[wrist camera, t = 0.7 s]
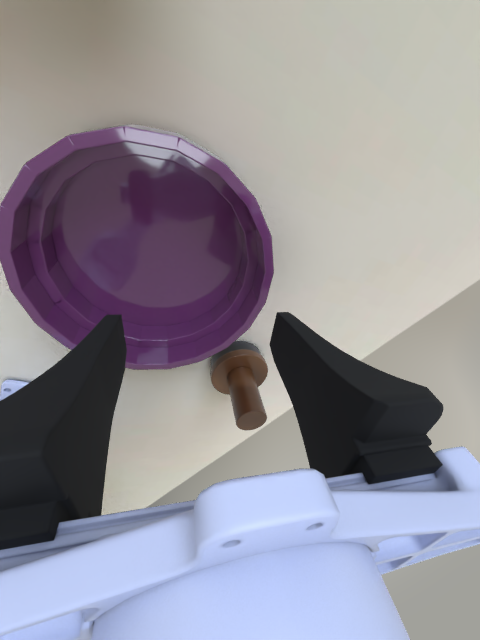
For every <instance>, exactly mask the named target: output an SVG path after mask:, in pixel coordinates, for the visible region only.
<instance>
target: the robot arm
mask: <svg viewBox="0 0 480 640" xmlns="http://www.w3.org/2000/svg"><path fill="white" fill-rule="evenodd" d="M270 347H271V351H272V355H273V358H274V362H275V364H276V367H277V369H278V371H279V374H280V376H281V378H282V381H283V383H284V385H285V387H286V390H287V392H288V394H289V397H290V399H291V402H292V404H293V407H294V410H295V413H296V417H297V420H298V423H299V426H300V430H301V434H302V437H303V441H304V445H305V448H306V452H307V457H308V460H309V465H310V469H295V470H289V471H282V472H276V473H269V474H262V475H255V476H249V477H242V478H236V479H230V480H226V481H222V482H219V483H215V484H213V485H211V486H210V487H208V488H206V489H204V490H203V491H202V492H201V493H200V494H199V496H198V497H197V499H196V500H193V501H187V502H181V503H174V504H168V505H162V506H156V507H150V508H144V509H138V510H132V511H126V512H120V513H113V514H107V515H101V510H102V499H103V489H104V480H105V471H106V463H107V455H108V447H109V439H110V432H111V425H112V420H113V415H114V410H115V407H116V403H117V399H118V395H119V391H120V387H121V383H122V379H123V375H124V371H125V363H126V354H127V347H126V341H125V334H124V328H123V322H122V315H106V316H104V317H103V319H102V320H101V321H100V322H99V323H98V324H97V325H96V326H95V327H94V328H93V329H92V330H91V332H90V333H89V334H88V335H87V336H86V337H85V338H84V339H83V340H82V341H81V342H80V343H79V344H78V345H77V346H76V347H75V348H74V349H72V350H71V351H70V352H69V353H68V354H67V355H66V356H65V357H64V358H62V359H61V360H60V361H59V362H58V363H57V364H55V365H54V366H53V367H51V368H50V369H49V370H47V371H46V372H45V373H43V374H42V375H41V376H39V377H38V378H36V379H35V380H33V381H32V382H30V383H29V382H22V381H16V380H5V381H4V382H3V383H2V385H1V393H0V640H410V638H409V636H408V634H407V631H406V629H405V627H404V625H403V623H402V621H401V619H400V616H399V614H398V612H397V609H396V607H395V605H394V603H393V601H392V598H391V597H390V594H389V592H388V590H387V588H386V586H385V584H384V581H383V579H382V577H381V575H382V574H385V573H387V572H391V571H394V570H397V569H400V568H402V567H406V566H409V565H412V564H415V563H418V562H421V561H424V560H427V559H430V558H433V557H437V556H440V555H443V554H446V553H450V552H453V551H456V550H459V549H464V548H467V547H471V546H474V545H478V544H480V464H479V462H478V461H477V460H476V459H475V458H474V457H473V455H472V454H470V452H469V451H468V450H467V449H466V448H465V447H462V446H461V447H456V448H449V449H443V450H440V451H437V452H435V453H433V452H432V450H431V449H430V448H429V446H430V445H431V444H432V443H431V440H430V439H429V438H428V436H427V435H426V434H427V432H428V431H429V430H430V429H431V428H432V427H433V425H434V424H435V423H436V422H437V421H438V420H439V418H440V417H441V415H442V412H443V405H442V403H441V402H440V401H439V400H438V399H437V398H436V397H435V396H434V395H433V393H432V392H431V391H430V390H429V389H428V388H427V387H424V386H421V385H418V384H415V383H412V382H409V381H406V380H403V379H400V378H397V377H395V376H392V375H390V374H387V373H385V372H382V371H380V370H378V369H375V368H373V367H371V366H369V365H367V364H365V363H363V362H361V361H359V360H357V359H355V358H354V357H352V356H350V355H348V354H347V353H345V352H343V351H341V350H340V349H338V348H337V347H335V346H334V345H332V344H331V343H329V342H328V341H326V340H325V339H324V338H322V337H321V336H319V335H318V334H317V333H315V332H314V331H313V330H311V329H310V328H309V327H308V326H306V325H305V324H304V323H302V322H301V321H300V320H299V319H297V318H296V317H295V316H293V315H292V314H290V313H289V312H277V315H276V319H275V324H274V328H273V332H272V336H271V341H270Z"/></svg>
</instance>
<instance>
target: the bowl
mask: <svg viewBox="0 0 480 640" xmlns="http://www.w3.org/2000/svg"><path fill="white" fill-rule="evenodd" d="M0 261H1V264H2V267H3V270H4V273H5V276H6V279H7V282H8V285H9V288H10V290H11V292H12V293H13V295H14V296H15V297H16V299H17V300H18V301H19V303H20V304H21V305H22V307H23V308H24V309H25V311H26V312H27V313H28V314H29V316H30V317H31V318H32V320H33V321H34V322H35V323H36V324H37V325H38V326H39V327H40V328H42V329H43V330H44V331H46V332H47V333H48V334H50V335H51V336H52V337H54V338H55V339H56V340H57V341H59V342H60V343H61V344H63V345H64V346H65V347H67V348H69V349H71V350H72V349H74V348H75V347H76V346H77V345H78V344H79V343H80V342H81V341H82V340H83V339H84V338H85V337H86V336H87V335H88V334H89V333H90V332H91V330H92V329H93V328H94V327H95V326H96V325H97V324H98V323H99V322H100V321H101V320H102V319H103V317H104V316H106V315H122V322H123V328H124V334H125V341H126V347H127V354H126V363H125V368H129V369H134V370H135V369H136V370H148V369H172V368H176V367H180V366H184V365H189V364H193V363H197V362H200V361H202V360H204V359H206V358H208V357H210V356H212V355H214V354H216V353H218V352H220V351H222V350H224V349H226V348H227V347H229V346H230V345H231V344H232V343H233V342H234V341H236V340H237V339H238V338H239V337H240V336H241V335H242V334H244V333H245V332H246V331H247V330H248V329H249V328H250V326H251V325H252V323H253V322H254V320H255V319H256V317H257V315H258V314H259V312H260V311H261V309H262V308H263V306H264V305H265V303H266V299H267V296H268V292H269V288H270V284H271V281H272V277H273V273H274V267H273V251H272V237H271V234H270V231H269V229H268V226H267V224H266V222H265V219H264V217H263V214H262V212H261V210H260V207H259V205H258V202H257V200H256V198H255V197H254V196H253V195H252V194H251V193H250V191H249V190H248V189H247V188H246V187H245V186H244V185H243V183H242V182H241V181H240V180H239V179H238V178H237V177H236V175H235V174H234V173H233V172H232V171H231V170H230V169H229V167H228V166H227V165H226V164H225V163H224V162H223V161H222V160H220V159H219V158H218V157H217V156H216V155H215V154H213V153H212V152H210V151H208V150H206V149H205V148H203V147H201V146H200V145H198V144H196V143H195V142H193V141H191V140H190V139H188V138H186V137H184V136H183V135H181V134H179V133H177V132H172V131H167V130H162V129H157V128H153V127H148V126H143V125H138V124H128V125H122V126H116V127H110V128H104V129H98V130H92V131H86V132H81V133H76V134H70V135H68V136H66V137H64V138H63V139H61V140H60V141H58V142H57V143H55V144H54V145H52V146H51V147H49V148H47V149H46V150H44V151H43V152H41V153H40V154H38V155H37V156H35V157H34V158H32V159H31V160H29V161H28V162H26V164H24V165H23V167H22V169H21V170H20V172H19V174H18V175H17V177H16V179H15V181H14V182H13V184H12V186H11V187H10V189H9V191H8V192H7V194H6V196H5V197H4V199H3V201H2V203H1V205H0Z"/></svg>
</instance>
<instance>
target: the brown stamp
mask: <svg viewBox="0 0 480 640" xmlns="http://www.w3.org/2000/svg"><path fill="white" fill-rule="evenodd" d="M267 373H268V368H267V364H266V362H265V359H264V358H263V357H262V356H261V354H260V352H259V350H258V348H257V347H256V346H254V345H253V344H251V343H248V342H243V341H237V342H233V343H232V344H231V345H230V346H229V347H227V348H226V349H224V350H222V351H220V352H218V353H216V354H214V355H213V357H212V359H211V373H210V374H211V381H212V384H213V386H214V387H215V388H216V389H217V390H218V391H219V392H221V393H224V394H229V395H230V396H231V401H232V406H233V411H234V416H235V420H236V425H237V427H238V428H240V429H242V430H253V429H256V428H258V427H260V426H262V425H263V424H264V423H265V422H266V419H267V416H266V413H265V409H264V406H263V403H262V400H261V397H260V393H259V390H258V387H259V386H260V385H261V384H262V383H263V382H264V380H265V379H266V377H267Z"/></svg>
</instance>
